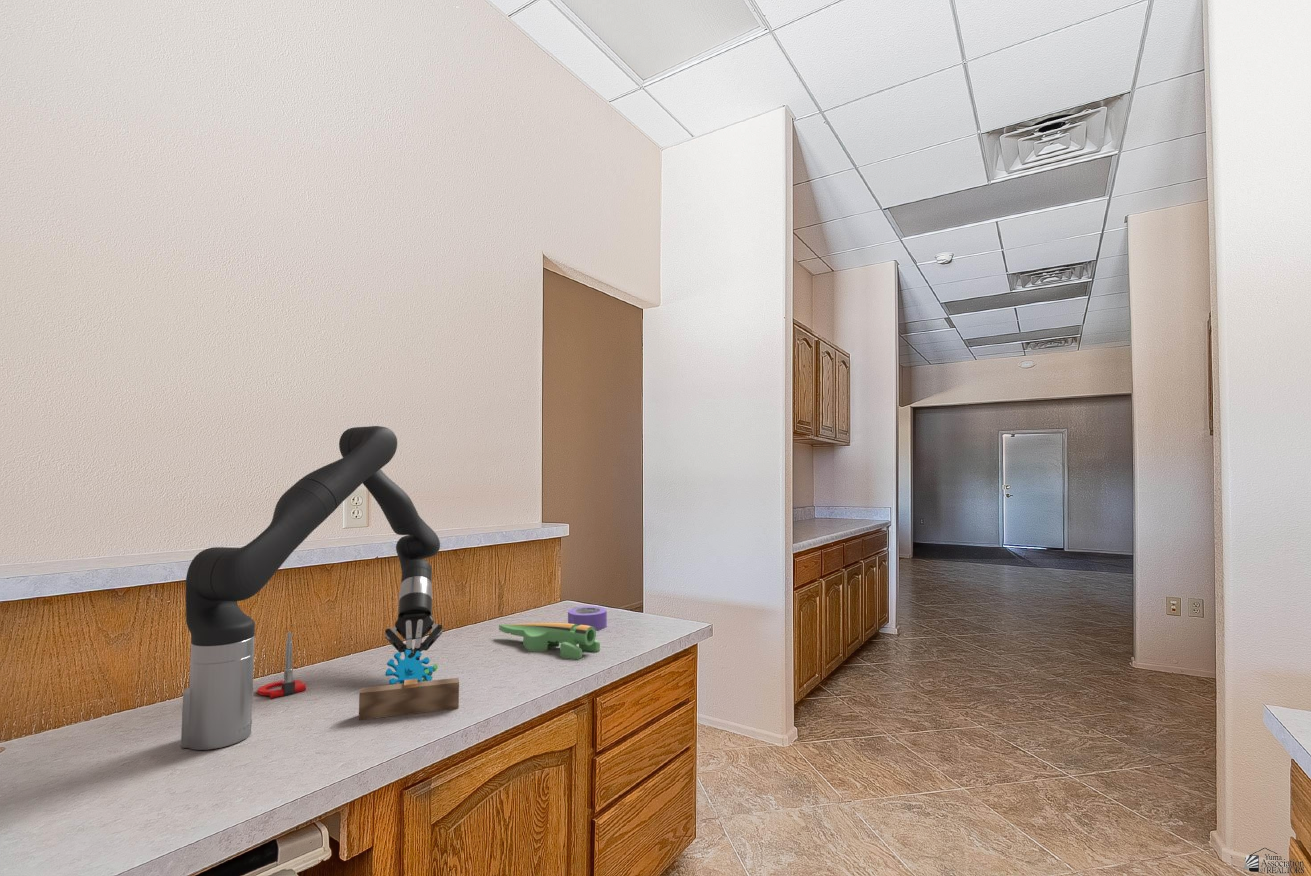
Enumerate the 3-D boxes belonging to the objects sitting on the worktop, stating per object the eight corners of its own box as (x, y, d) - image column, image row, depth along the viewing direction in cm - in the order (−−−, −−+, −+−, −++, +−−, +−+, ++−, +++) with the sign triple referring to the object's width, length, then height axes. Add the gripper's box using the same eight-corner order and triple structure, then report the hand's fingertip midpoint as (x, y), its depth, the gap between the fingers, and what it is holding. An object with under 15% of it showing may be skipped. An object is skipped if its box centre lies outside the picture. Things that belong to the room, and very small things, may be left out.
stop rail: (358, 720, 116) (359, 689, 117) (360, 713, 120) (361, 684, 120) (458, 708, 122) (459, 679, 123) (458, 702, 126) (458, 674, 126)
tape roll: (582, 633, 180) (582, 616, 180) (560, 626, 189) (560, 609, 189) (614, 627, 188) (614, 610, 188) (591, 620, 196) (592, 604, 197)
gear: (389, 691, 127) (385, 648, 133) (380, 706, 129) (377, 663, 136) (442, 687, 133) (436, 646, 140) (432, 702, 136) (427, 661, 143)
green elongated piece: (485, 642, 170) (485, 616, 171) (512, 634, 179) (512, 608, 180) (577, 660, 154) (578, 630, 155) (602, 650, 163) (602, 622, 164)
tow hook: (251, 692, 132) (266, 700, 127) (253, 631, 134) (268, 636, 128) (294, 682, 139) (310, 690, 133) (295, 624, 140) (311, 628, 134)
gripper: (385, 592, 144) (379, 661, 132) (444, 589, 149) (444, 655, 137) (386, 610, 149) (380, 678, 137) (444, 607, 154) (443, 672, 141)
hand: (412, 666), depth 137 cm, fingers closed
